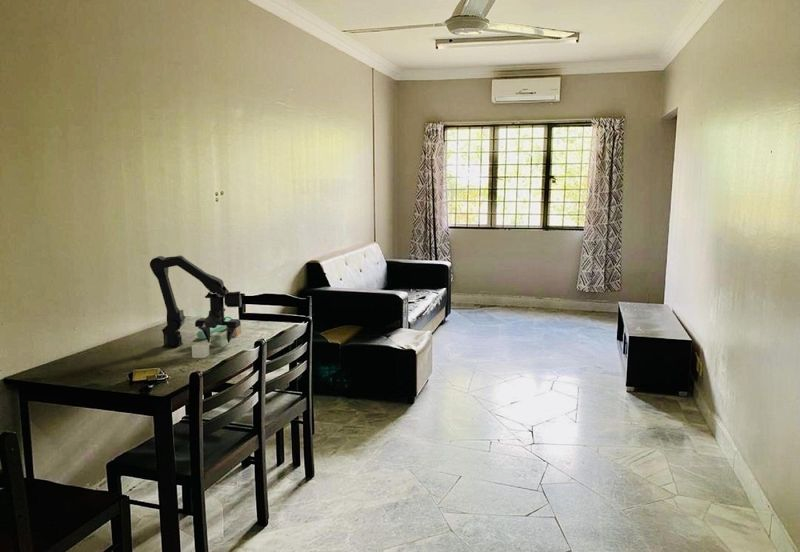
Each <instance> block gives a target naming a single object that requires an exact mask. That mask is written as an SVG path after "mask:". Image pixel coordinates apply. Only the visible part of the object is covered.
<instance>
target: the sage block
mask: <svg viewBox="0 0 800 552" xmlns="http://www.w3.org/2000/svg"><path fill="white" fill-rule="evenodd" d="M210 336H211V337H210V347H223V346H225V345H227V344H228V341H227V336H226V332H223V331H221V332H215V333H213V334H211V335H210ZM224 344H225V345H224Z"/></svg>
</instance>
